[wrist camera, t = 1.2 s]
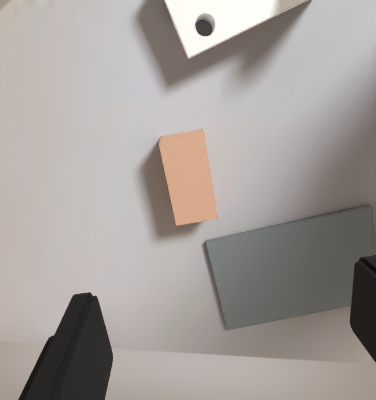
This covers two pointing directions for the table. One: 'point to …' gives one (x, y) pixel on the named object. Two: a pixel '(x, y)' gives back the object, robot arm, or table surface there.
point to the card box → (188, 176)
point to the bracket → (221, 19)
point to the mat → (290, 266)
